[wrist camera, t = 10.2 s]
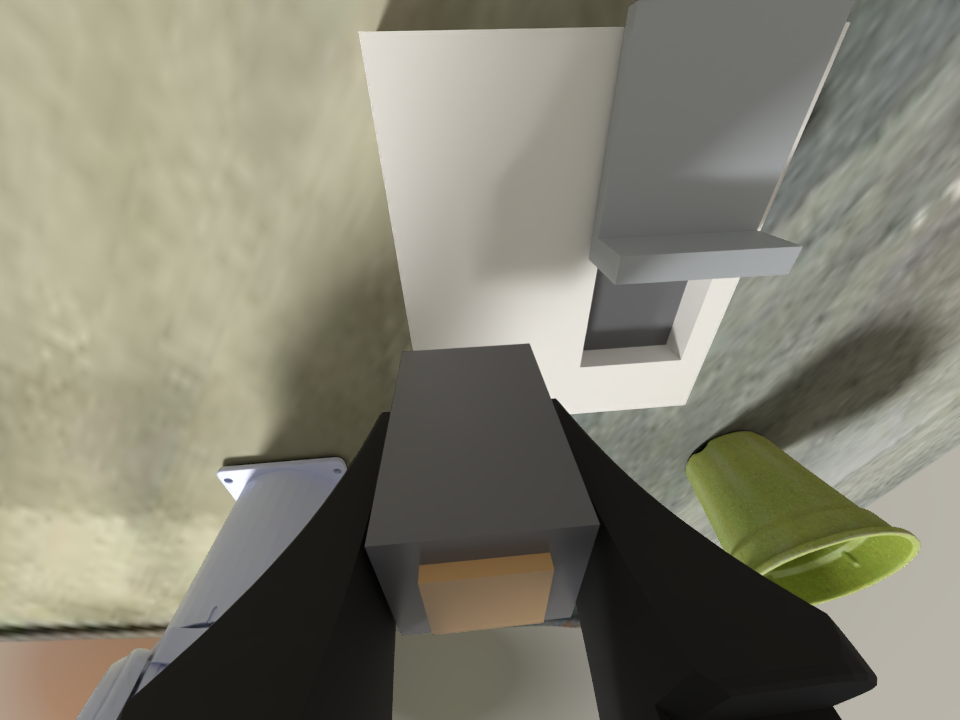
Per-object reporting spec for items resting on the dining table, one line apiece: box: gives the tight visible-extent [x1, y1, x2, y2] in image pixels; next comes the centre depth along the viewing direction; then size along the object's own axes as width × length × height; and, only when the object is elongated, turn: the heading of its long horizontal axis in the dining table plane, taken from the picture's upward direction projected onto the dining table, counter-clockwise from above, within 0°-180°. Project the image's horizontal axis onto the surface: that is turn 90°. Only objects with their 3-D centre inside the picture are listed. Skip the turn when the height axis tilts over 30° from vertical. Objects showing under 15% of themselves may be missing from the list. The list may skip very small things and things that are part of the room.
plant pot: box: [686, 431, 921, 605], centre depth 23 cm, size 9×9×9 cm
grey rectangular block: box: [365, 343, 600, 636], centre depth 9 cm, size 4×4×6 cm
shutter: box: [589, 0, 855, 285], centre depth 11 cm, size 7×6×3 cm
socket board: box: [359, 22, 850, 414], centre depth 16 cm, size 16×15×2 cm
